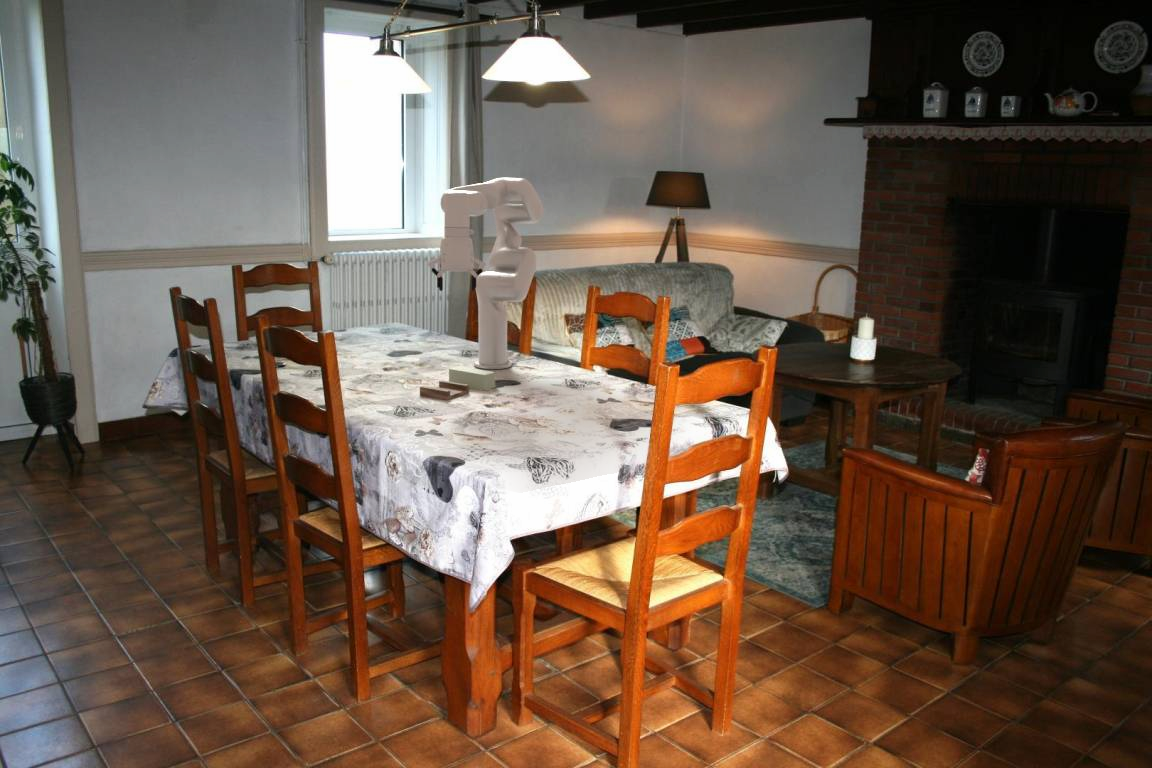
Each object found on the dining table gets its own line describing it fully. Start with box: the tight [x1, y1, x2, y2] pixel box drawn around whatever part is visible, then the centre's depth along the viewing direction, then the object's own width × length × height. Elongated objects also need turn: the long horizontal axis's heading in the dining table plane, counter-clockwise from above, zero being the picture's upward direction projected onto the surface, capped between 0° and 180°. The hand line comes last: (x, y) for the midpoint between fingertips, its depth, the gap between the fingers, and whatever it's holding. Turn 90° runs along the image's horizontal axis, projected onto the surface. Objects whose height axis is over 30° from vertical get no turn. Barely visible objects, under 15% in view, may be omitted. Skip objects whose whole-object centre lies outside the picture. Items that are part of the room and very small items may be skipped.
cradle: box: [419, 380, 470, 401], centre depth 290 cm, size 10×10×2 cm
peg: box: [448, 365, 496, 391], centre depth 301 cm, size 5×14×5 cm, turn 57°
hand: (456, 290), depth 300 cm, fingers open, 9 cm apart
